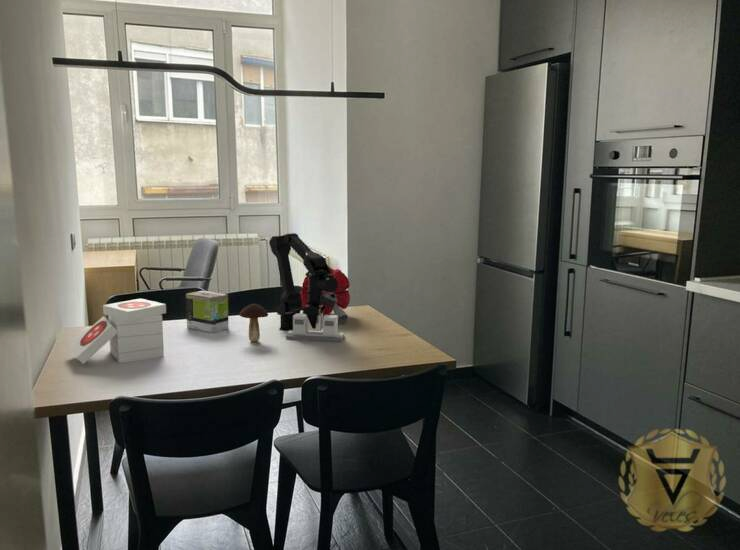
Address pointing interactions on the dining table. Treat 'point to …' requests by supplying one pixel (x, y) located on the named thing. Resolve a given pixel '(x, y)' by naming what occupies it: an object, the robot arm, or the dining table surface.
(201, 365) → the dining table surface
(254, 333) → the decorative mushroom
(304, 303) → the bouquet
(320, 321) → the block
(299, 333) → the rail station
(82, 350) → the pizza boxes
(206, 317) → the tea box
